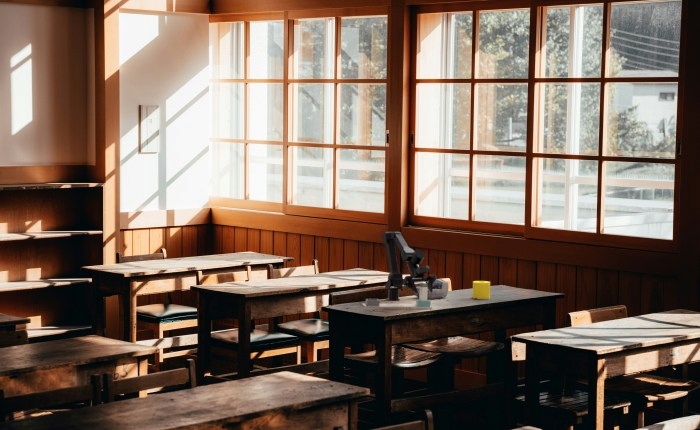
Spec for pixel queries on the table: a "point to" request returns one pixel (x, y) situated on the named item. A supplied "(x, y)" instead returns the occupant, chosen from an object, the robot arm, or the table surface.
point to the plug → (423, 292)
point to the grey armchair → (436, 290)
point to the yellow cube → (481, 289)
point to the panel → (411, 306)
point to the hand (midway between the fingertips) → (424, 292)
